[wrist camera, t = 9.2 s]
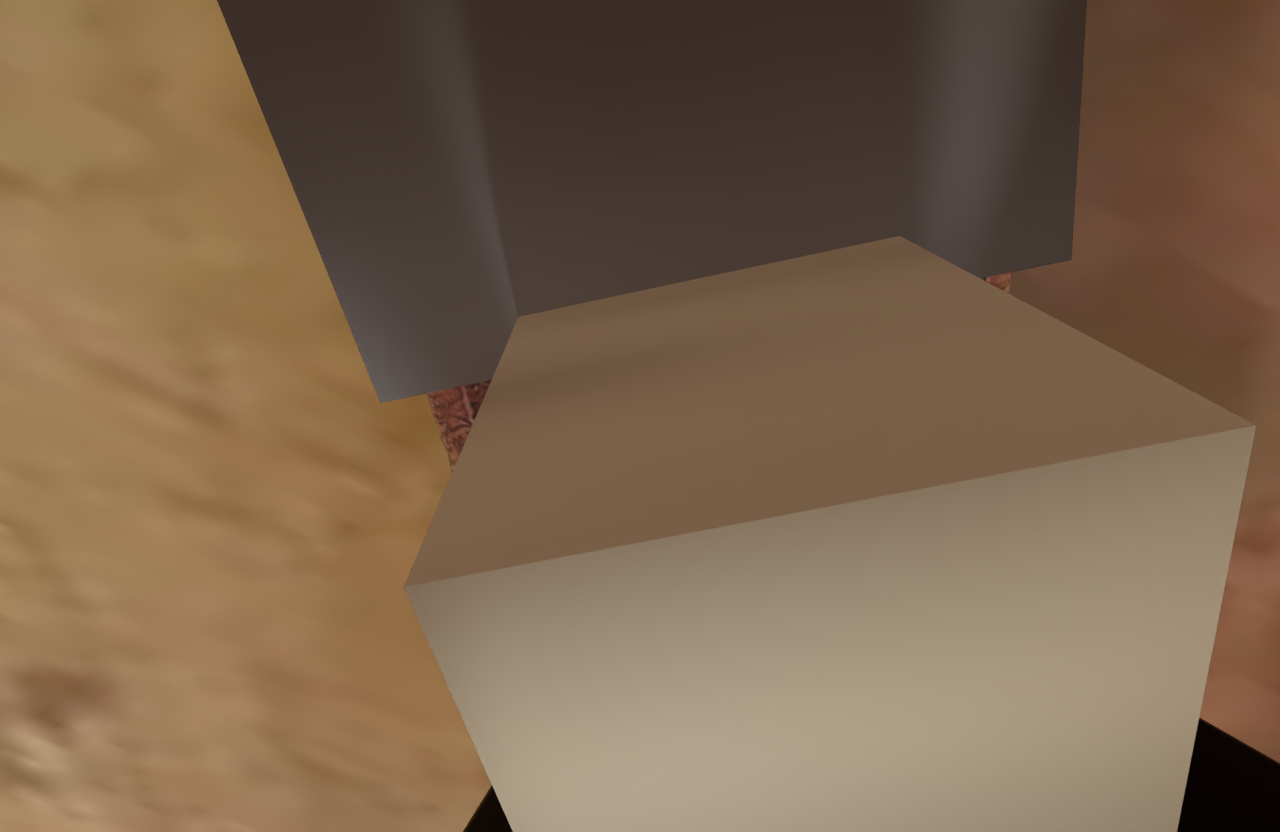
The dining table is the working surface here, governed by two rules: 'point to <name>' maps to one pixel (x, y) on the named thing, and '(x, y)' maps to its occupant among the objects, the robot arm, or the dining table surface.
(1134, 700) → the two-tone stacked block
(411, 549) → the dining table surface
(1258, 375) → the dining table surface
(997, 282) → the wooden tablet
